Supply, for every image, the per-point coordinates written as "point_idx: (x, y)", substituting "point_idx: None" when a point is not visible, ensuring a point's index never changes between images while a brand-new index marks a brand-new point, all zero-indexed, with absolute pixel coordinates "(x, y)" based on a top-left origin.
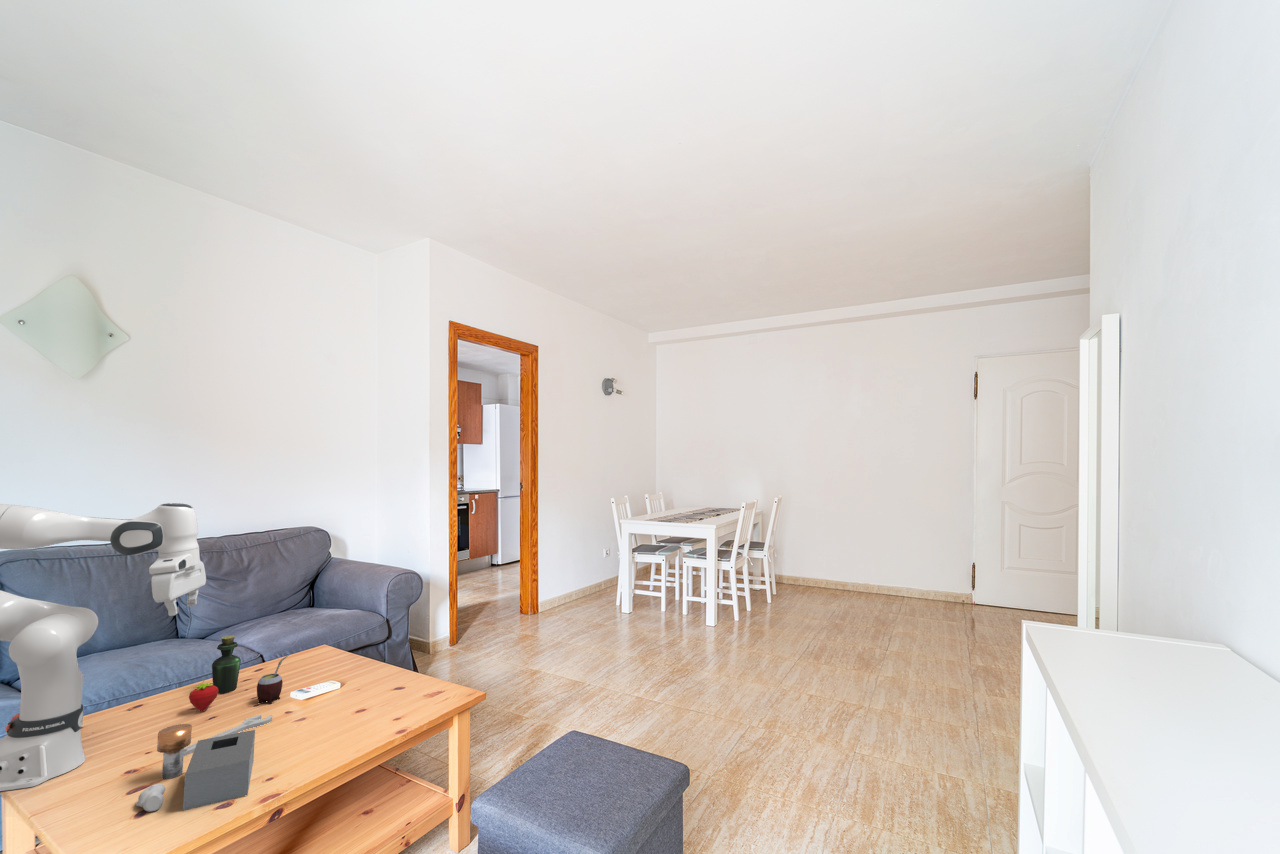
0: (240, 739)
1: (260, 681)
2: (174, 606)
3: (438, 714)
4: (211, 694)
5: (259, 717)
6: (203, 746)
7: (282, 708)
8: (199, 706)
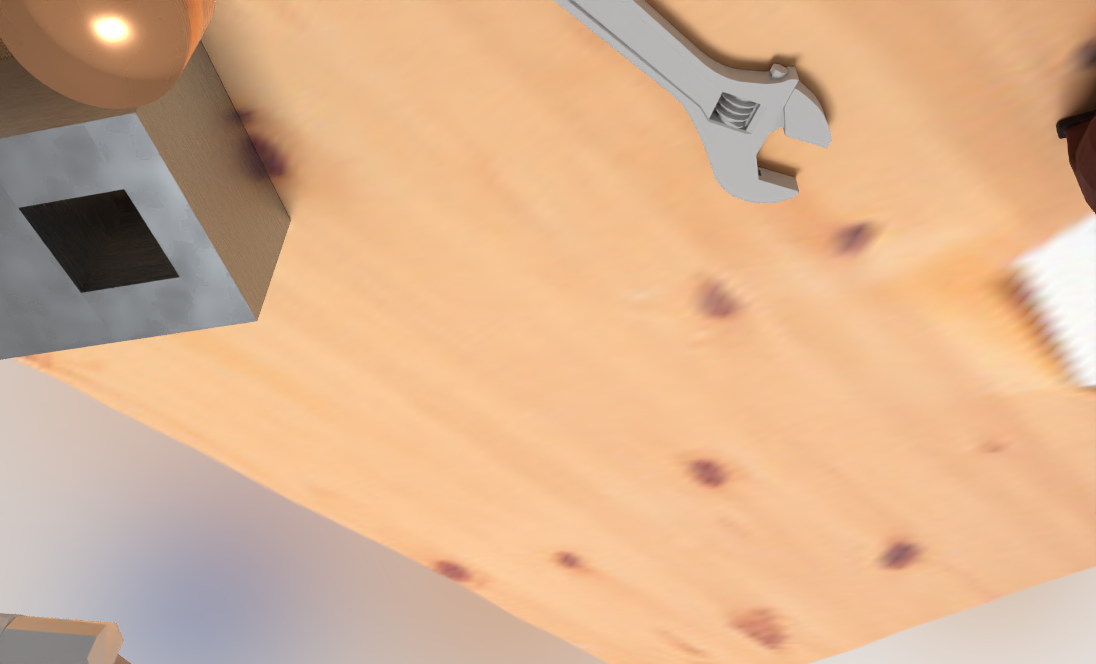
0: (143, 292)
1: None
2: None
3: (559, 635)
4: None
5: (808, 139)
6: (60, 163)
7: (933, 200)
8: None
